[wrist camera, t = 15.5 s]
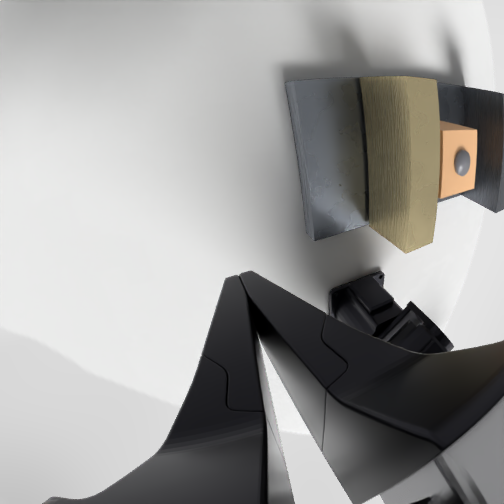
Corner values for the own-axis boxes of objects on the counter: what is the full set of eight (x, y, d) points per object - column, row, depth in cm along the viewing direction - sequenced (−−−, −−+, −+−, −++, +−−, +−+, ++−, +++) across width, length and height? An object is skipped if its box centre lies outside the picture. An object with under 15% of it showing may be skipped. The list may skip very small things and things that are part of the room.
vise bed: (465, 186, 26) (506, 207, 20) (306, 233, 23) (348, 276, 17) (465, 87, 19) (513, 96, 14) (284, 82, 17) (333, 74, 11)
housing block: (434, 170, 21) (476, 189, 17) (398, 178, 21) (443, 200, 16) (433, 119, 19) (480, 130, 14) (396, 120, 18) (446, 131, 14)
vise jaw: (395, 217, 22) (432, 242, 18) (369, 226, 22) (405, 253, 18) (389, 78, 16) (436, 79, 12) (359, 77, 16) (405, 76, 12)
